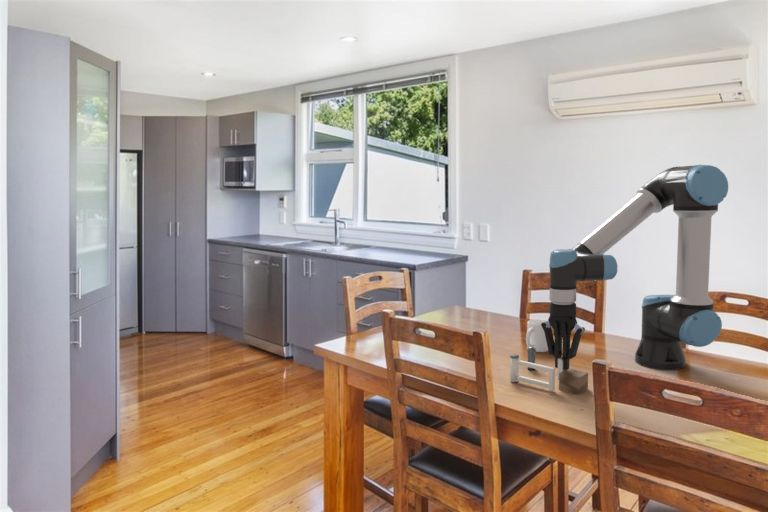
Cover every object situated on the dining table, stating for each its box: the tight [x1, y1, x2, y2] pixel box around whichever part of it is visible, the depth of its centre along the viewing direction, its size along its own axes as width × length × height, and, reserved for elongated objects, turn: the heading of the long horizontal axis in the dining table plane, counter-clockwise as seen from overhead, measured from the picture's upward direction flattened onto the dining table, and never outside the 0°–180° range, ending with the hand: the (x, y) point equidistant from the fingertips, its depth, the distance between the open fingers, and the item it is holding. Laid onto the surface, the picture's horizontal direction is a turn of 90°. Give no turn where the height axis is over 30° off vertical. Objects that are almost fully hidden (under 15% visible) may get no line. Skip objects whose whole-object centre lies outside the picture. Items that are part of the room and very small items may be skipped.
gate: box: [509, 353, 556, 392], centre depth 163 cm, size 14×3×8 cm, turn 46°
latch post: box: [526, 347, 537, 372], centre depth 178 cm, size 3×3×8 cm
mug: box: [525, 319, 549, 353], centre depth 199 cm, size 12×8×10 cm
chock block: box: [558, 368, 589, 396], centre depth 160 cm, size 6×6×5 cm
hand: (561, 379), depth 163 cm, fingers closed
